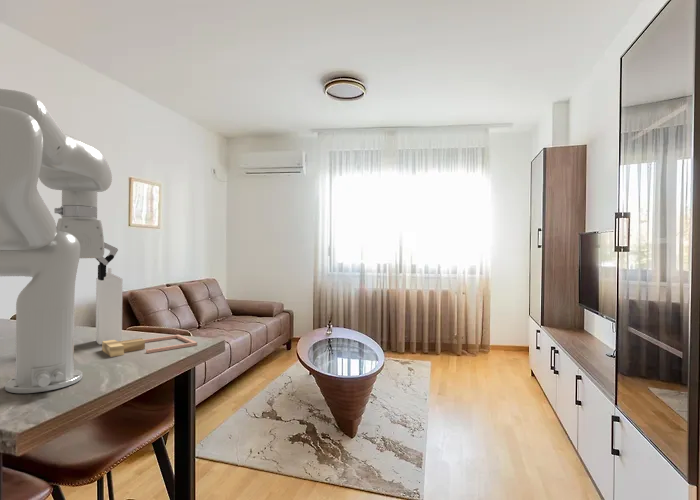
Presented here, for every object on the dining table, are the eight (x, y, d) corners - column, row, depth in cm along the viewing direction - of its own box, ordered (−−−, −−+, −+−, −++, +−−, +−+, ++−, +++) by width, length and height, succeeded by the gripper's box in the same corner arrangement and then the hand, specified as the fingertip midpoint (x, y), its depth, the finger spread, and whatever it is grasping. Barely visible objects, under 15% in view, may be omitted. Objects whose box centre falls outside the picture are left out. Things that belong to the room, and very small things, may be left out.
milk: (98, 344, 114) (98, 268, 114) (95, 340, 119) (95, 267, 119) (122, 341, 118) (122, 268, 118) (118, 337, 123) (118, 267, 122)
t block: (148, 351, 108) (148, 341, 108) (110, 357, 102) (110, 347, 102) (137, 345, 114) (138, 336, 114) (102, 350, 108) (102, 341, 108)
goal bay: (197, 345, 115) (197, 342, 115) (147, 353, 105) (147, 350, 105) (178, 337, 125) (178, 334, 125) (131, 343, 115) (131, 341, 115)
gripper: (39, 210, 92) (39, 284, 92) (122, 215, 104) (121, 280, 105) (34, 212, 97) (33, 281, 97) (113, 216, 110) (112, 278, 110)
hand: (79, 280), depth 101 cm, fingers open, 9 cm apart
